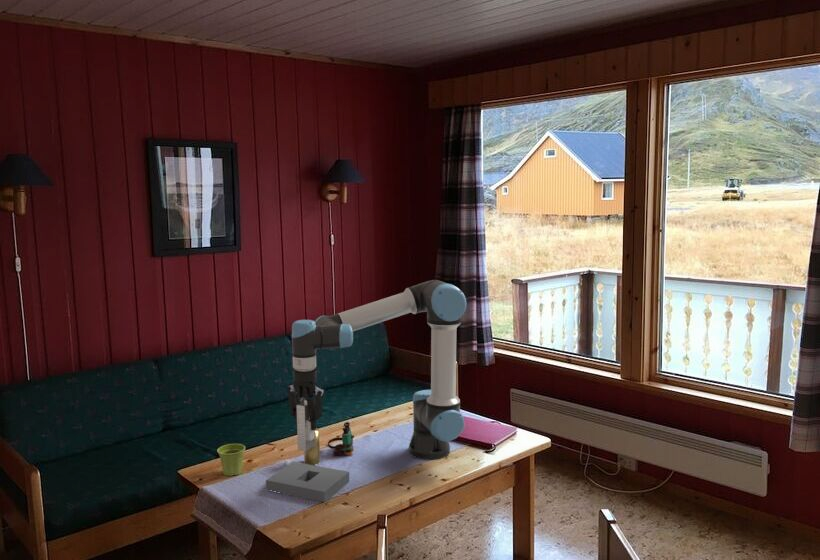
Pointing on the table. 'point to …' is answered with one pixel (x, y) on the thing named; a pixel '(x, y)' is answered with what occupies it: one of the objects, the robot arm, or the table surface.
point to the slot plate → (318, 486)
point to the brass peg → (313, 452)
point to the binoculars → (347, 442)
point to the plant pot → (231, 458)
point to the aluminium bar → (303, 427)
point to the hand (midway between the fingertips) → (306, 438)
